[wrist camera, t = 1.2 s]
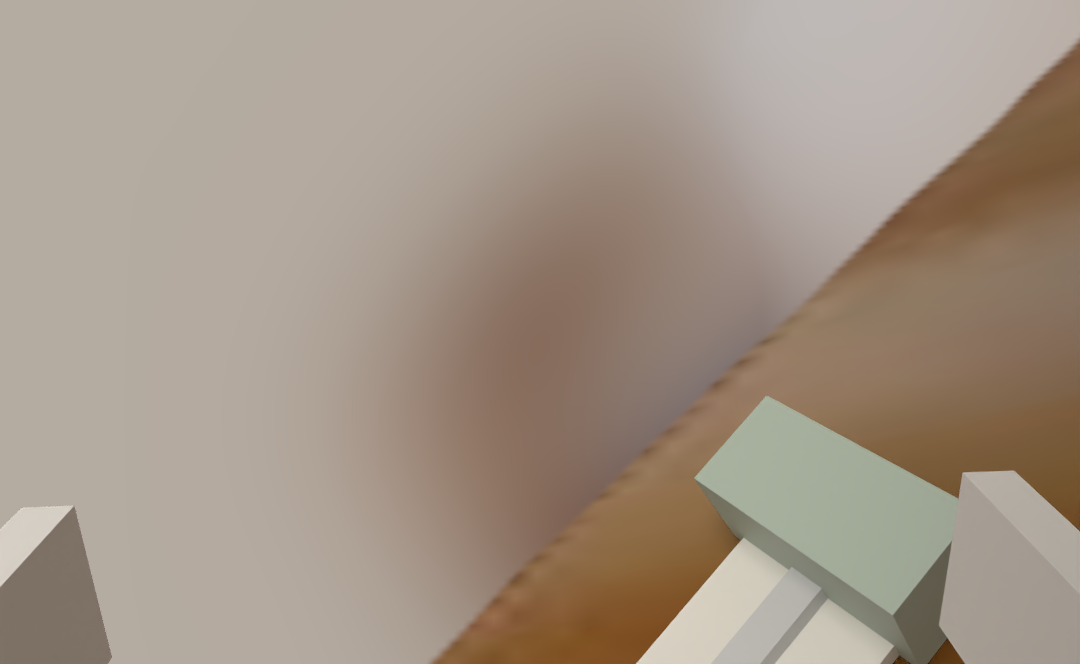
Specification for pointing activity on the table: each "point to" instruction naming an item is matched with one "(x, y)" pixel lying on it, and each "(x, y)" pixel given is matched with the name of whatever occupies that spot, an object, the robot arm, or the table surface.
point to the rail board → (815, 554)
